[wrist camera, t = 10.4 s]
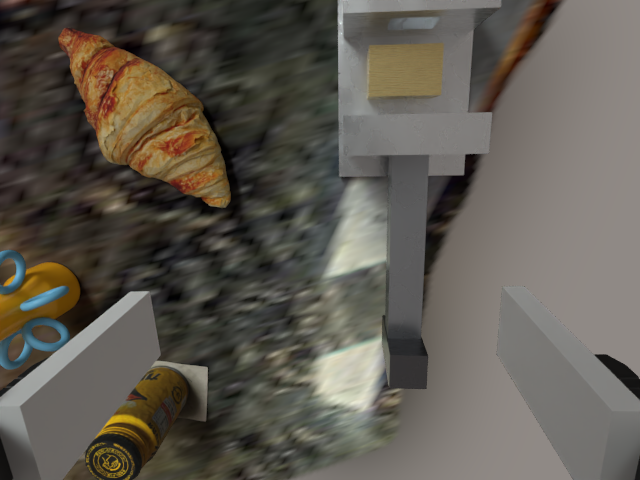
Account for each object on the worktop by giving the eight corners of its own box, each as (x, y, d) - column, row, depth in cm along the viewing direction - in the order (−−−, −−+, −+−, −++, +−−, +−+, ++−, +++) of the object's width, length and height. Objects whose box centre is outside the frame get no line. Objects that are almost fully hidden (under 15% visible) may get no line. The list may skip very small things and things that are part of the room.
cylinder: (124, 283, 47) (24, 352, 32) (81, 349, 49) (-30, 440, 35) (29, 217, 46) (-119, 258, 31) (-11, 288, 48) (-165, 357, 34)
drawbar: (386, 120, 39) (396, 117, 31) (421, 119, 39) (440, 116, 31) (381, 343, 44) (389, 388, 37) (412, 343, 44) (426, 388, 37)
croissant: (258, 179, 47) (272, 161, 39) (189, 242, 44) (190, 237, 36) (112, 25, 43) (96, -27, 35) (28, 84, 40) (-8, 42, 33)
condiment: (137, 357, 49) (72, 428, 38) (208, 366, 49) (165, 439, 37) (138, 411, 51) (77, 493, 40) (207, 419, 51) (165, 505, 39)
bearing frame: (337, -27, 38) (334, -76, 29) (474, -33, 37) (516, -85, 28) (339, 175, 42) (337, 188, 33) (461, 174, 42) (492, 186, 32)
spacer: (366, 99, 39) (367, 53, 38) (431, 98, 39) (434, 51, 38) (368, 96, 36) (369, 45, 34) (441, 95, 35) (443, 42, 34)
